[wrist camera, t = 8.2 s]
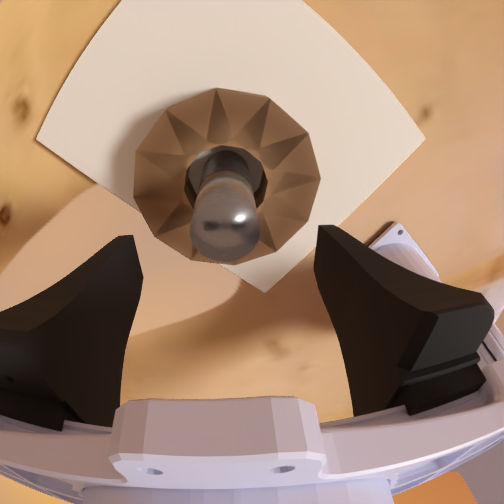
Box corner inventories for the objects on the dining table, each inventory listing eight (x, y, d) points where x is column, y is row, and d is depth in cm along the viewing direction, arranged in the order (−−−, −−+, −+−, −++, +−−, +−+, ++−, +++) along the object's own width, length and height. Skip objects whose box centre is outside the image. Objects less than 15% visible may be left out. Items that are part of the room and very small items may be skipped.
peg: (258, 169, 20) (274, 228, 13) (228, 201, 21) (229, 272, 14) (223, 141, 19) (219, 186, 12) (193, 175, 20) (176, 237, 13)
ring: (339, 165, 20) (353, 177, 18) (236, 268, 24) (237, 289, 22) (214, 55, 16) (212, 52, 14) (115, 187, 20) (102, 202, 18)
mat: (420, 136, 20) (425, 138, 19) (263, 287, 26) (264, 293, 26) (195, -66, 11) (194, -70, 10) (41, 136, 17) (35, 139, 17)
